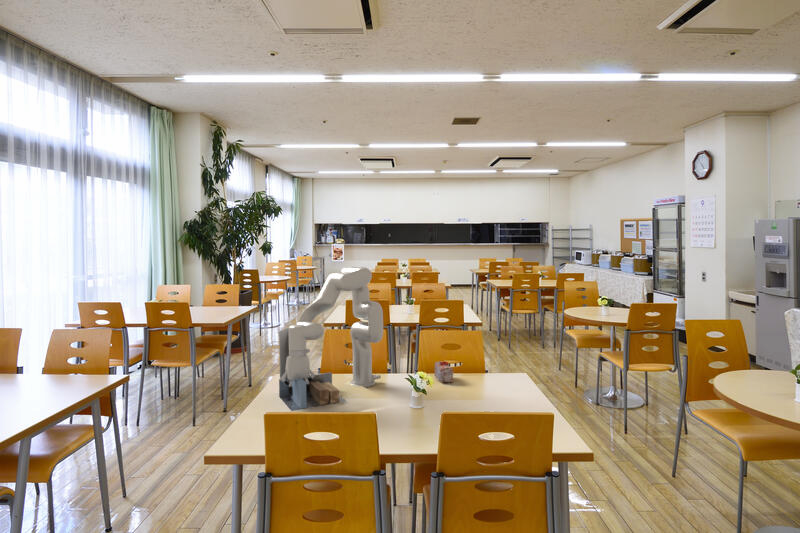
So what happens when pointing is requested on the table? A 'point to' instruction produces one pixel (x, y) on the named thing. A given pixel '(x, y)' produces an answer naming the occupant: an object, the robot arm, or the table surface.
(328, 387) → the offcut short
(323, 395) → the offcut tall
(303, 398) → the sheet
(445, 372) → the food item
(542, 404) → the table surface
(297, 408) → the rack
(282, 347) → the brochure
